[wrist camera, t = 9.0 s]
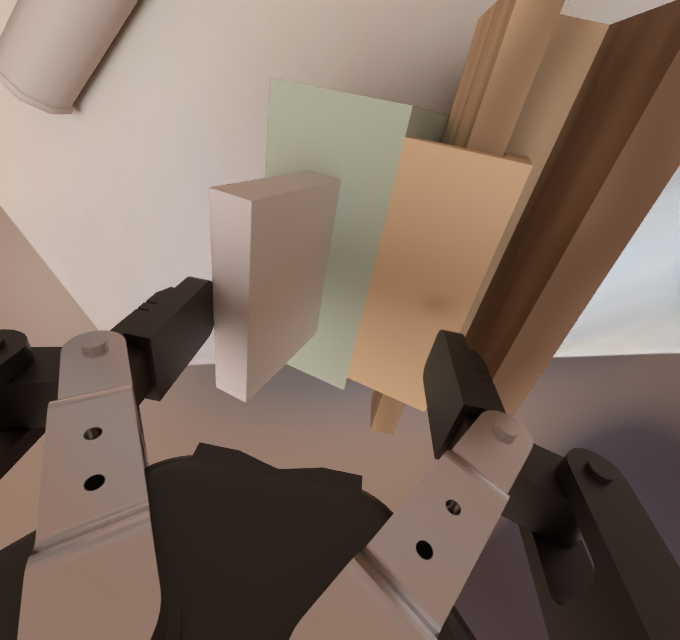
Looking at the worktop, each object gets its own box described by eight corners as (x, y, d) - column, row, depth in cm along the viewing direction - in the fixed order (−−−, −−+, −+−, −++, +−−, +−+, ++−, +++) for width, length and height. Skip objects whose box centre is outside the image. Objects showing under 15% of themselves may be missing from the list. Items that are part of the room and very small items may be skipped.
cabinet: (535, 133, 19) (571, 128, 6) (449, 337, 26) (383, 527, 13) (361, 99, 22) (136, 46, 9) (328, 291, 29) (180, 413, 16)
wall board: (601, 87, 26) (1004, 48, 9) (485, 323, 38) (568, 496, 21) (441, 53, 26) (550, -49, 9) (375, 300, 38) (369, 455, 21)
